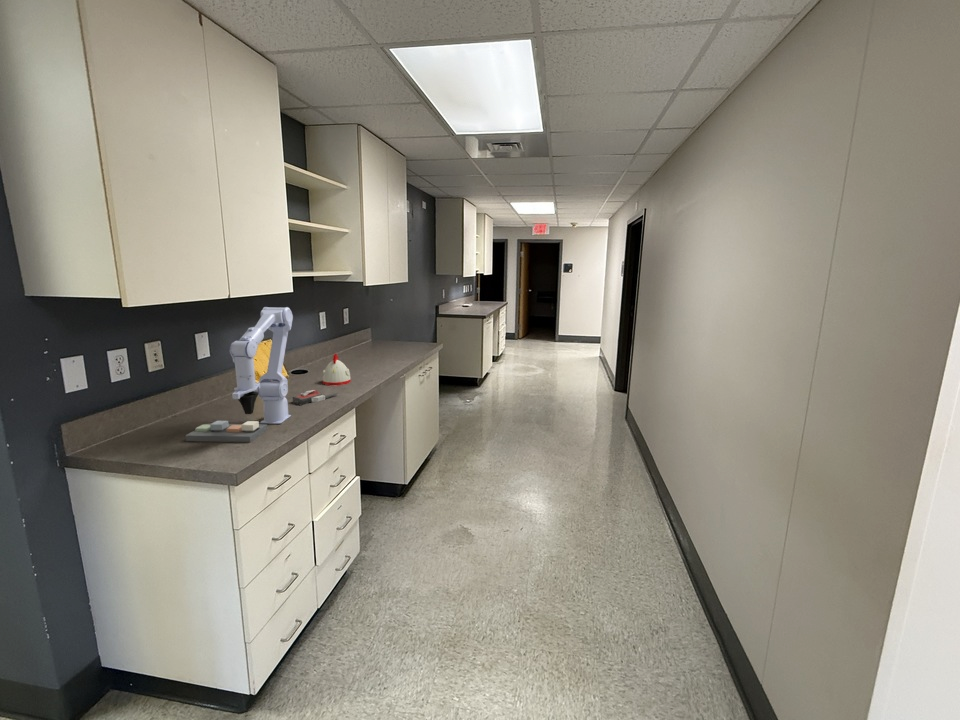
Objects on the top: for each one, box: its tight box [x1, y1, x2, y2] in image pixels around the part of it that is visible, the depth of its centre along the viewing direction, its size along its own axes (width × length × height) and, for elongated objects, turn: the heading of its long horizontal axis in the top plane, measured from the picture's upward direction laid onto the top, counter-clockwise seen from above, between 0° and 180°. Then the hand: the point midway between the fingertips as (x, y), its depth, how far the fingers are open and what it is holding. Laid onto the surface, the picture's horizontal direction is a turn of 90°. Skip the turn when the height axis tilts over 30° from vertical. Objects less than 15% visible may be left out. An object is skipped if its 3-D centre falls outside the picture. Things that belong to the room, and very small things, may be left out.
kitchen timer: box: [322, 353, 352, 386], centre depth 230 cm, size 14×14×15 cm
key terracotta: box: [226, 425, 242, 432], centre depth 156 cm, size 4×4×3 cm
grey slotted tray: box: [185, 423, 268, 443], centre depth 156 cm, size 12×22×2 cm, turn 89°
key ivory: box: [241, 420, 260, 433], centre depth 156 cm, size 4×4×3 cm
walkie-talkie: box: [292, 389, 339, 406], centre depth 201 cm, size 9×4×20 cm
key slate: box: [209, 420, 230, 432], centre depth 156 cm, size 4×4×3 cm
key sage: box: [195, 423, 211, 432], centre depth 156 cm, size 4×4×3 cm
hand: (249, 413), depth 155 cm, fingers closed
